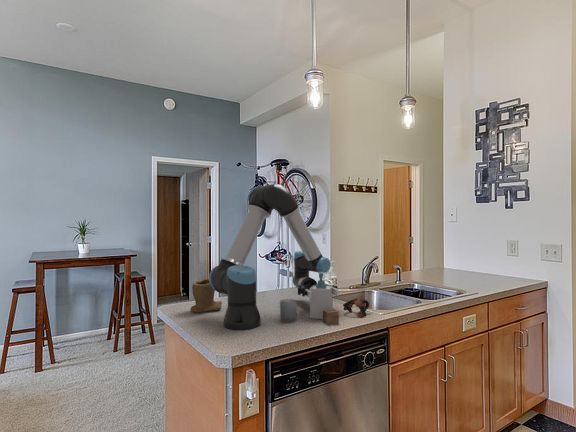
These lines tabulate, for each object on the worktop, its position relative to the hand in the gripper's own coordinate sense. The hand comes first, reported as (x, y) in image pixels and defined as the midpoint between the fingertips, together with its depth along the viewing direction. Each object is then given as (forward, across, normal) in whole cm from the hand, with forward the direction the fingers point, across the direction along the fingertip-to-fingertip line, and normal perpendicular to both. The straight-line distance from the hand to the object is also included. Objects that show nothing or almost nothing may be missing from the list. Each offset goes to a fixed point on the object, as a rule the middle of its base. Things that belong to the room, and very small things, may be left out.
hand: (324, 293), depth 153 cm
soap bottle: (-4, 0, -11) cm, 11 cm away
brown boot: (-30, +48, -11) cm, 57 cm away
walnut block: (+6, 0, -11) cm, 12 cm away
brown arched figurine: (-2, -16, -11) cm, 19 cm away
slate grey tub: (-3, +15, -11) cm, 19 cm away
